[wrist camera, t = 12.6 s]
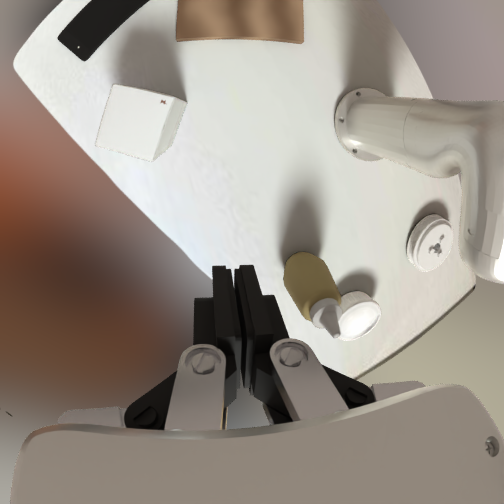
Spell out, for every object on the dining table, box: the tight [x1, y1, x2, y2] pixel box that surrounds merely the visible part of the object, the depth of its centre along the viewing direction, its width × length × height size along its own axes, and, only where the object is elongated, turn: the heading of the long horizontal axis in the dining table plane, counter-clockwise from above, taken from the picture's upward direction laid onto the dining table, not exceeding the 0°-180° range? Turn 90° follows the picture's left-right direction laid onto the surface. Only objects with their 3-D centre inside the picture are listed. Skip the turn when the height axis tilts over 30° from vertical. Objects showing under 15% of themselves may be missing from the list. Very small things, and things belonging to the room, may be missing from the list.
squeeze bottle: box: [283, 252, 342, 338], centre depth 41 cm, size 8×8×18 cm
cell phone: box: [58, 0, 149, 61], centre depth 23 cm, size 9×18×1 cm, turn 132°
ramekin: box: [338, 291, 381, 341], centre depth 54 cm, size 11×11×5 cm
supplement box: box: [95, 84, 187, 162], centre depth 28 cm, size 7×7×13 cm
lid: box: [407, 214, 453, 272], centre depth 49 cm, size 13×13×5 cm
